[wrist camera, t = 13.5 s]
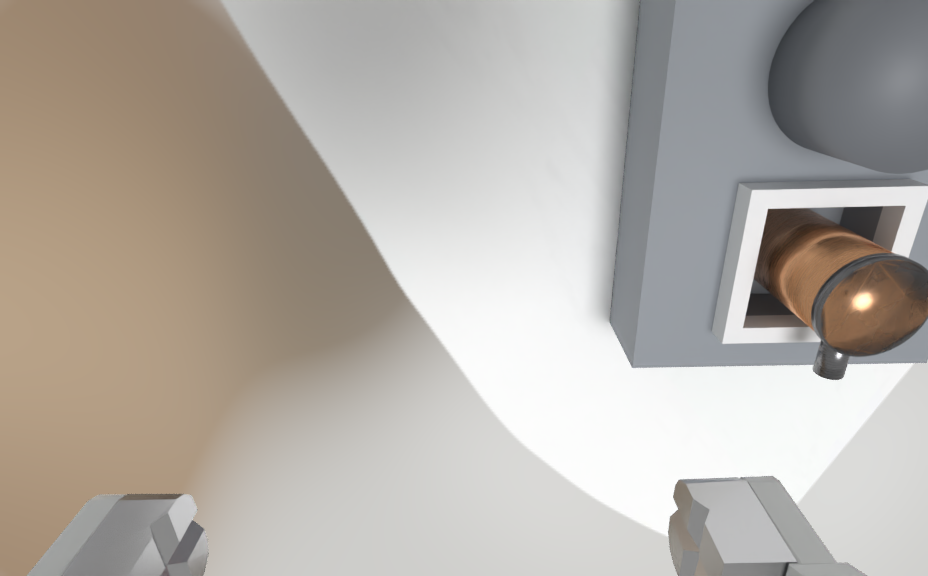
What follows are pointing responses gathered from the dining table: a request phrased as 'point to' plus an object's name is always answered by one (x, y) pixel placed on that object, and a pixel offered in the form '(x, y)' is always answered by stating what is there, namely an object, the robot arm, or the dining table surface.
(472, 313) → the dining table surface
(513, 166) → the dining table surface
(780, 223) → the spout can
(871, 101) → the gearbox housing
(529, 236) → the dining table surface
